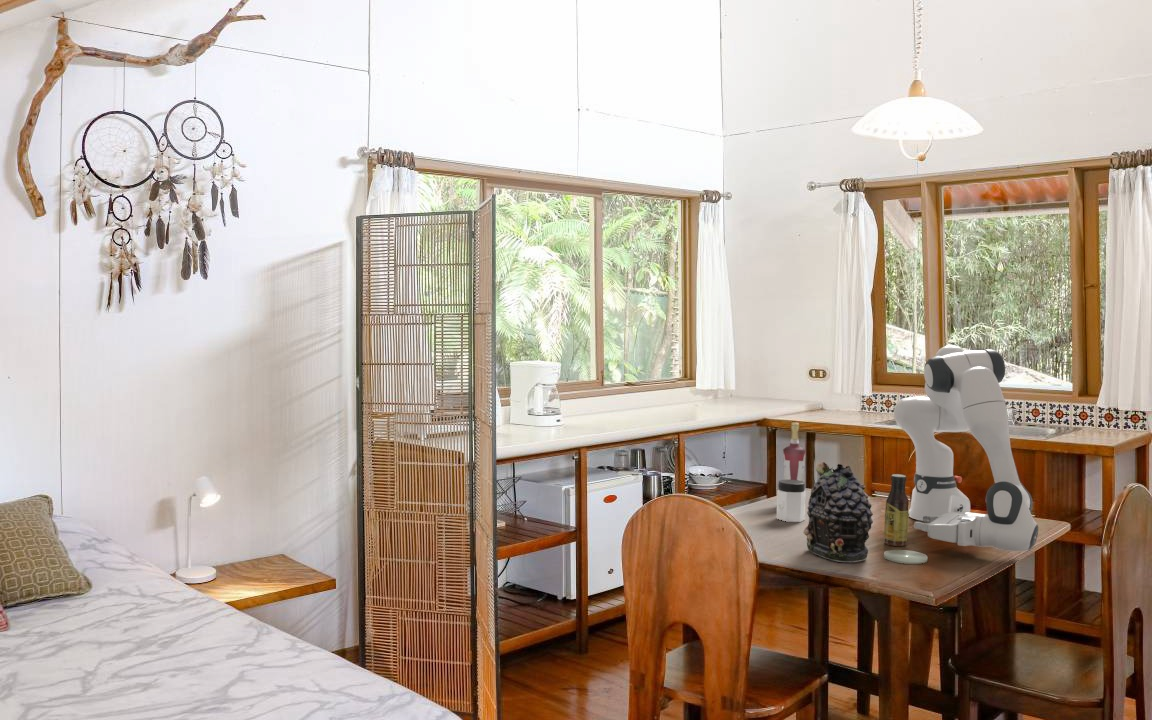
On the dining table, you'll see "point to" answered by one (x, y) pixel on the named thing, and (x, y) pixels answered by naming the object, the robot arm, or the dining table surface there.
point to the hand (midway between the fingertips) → (918, 521)
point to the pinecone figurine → (838, 515)
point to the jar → (791, 500)
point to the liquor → (794, 457)
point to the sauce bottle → (896, 513)
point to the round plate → (905, 556)
